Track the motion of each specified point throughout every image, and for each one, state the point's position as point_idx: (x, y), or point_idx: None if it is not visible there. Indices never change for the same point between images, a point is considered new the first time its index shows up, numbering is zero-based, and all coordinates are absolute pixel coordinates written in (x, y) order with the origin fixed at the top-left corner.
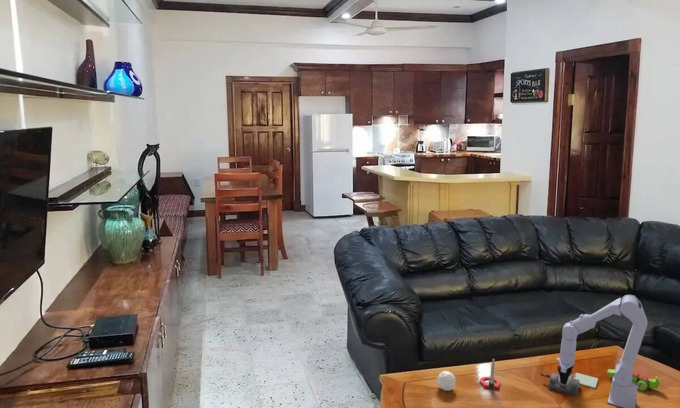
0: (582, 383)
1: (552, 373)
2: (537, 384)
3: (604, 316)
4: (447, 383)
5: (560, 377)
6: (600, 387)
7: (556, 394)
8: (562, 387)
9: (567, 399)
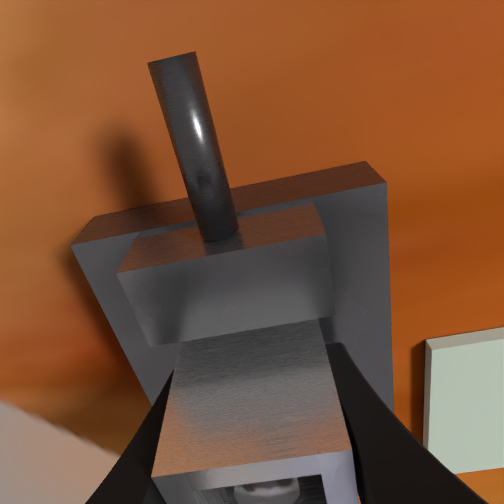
0: (439, 410)
1: (289, 249)
2: (50, 72)
3: None
4: None
5: (134, 444)
6: (469, 476)
7: (60, 322)
8: (144, 376)
9: (75, 402)
